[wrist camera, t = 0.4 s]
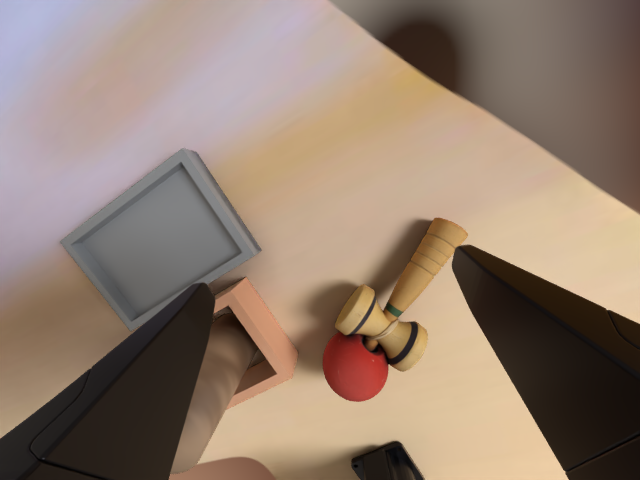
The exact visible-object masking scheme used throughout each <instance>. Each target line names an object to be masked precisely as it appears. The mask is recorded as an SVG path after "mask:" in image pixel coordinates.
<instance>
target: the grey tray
mask: <svg viewBox="0 0 640 480" xmlns="http://www.w3.org/2000/svg"><path fill="white" fill-rule="evenodd" d="M60 243H61V244H62V245H63V247H64V248H65V249H66V250H67V252H68V253H69V254H70V255H71V257H72V258H73V259H74V261H75V262H76V263H77V264H78V266H79V267H80V268H81V269H82V271H83V272H84V273H85V274H86V276H87V277H88V278H89V279H90V281H91V282H92V283H93V285H94V286H95V287H96V288H97V290H98V291H99V292H100V293H101V295H102V296H103V297H104V298H105V300H106V301H107V302H108V304H109V305H110V306H111V307H112V309H113V310H114V311H115V312H116V314H117V315H118V316H119V317H120V319H121V320H122V321H123V322H124V324H125V325H126V326H127V328H128V329H129V330H130V331H132V330H134V329H135V328H137V327H139V326H140V325H142V324H144V323H145V322H147V321H148V320H149V319H151V318H152V317H153V316H154V315H155V314H157V313H158V312H159V311H160V310H162V309H163V308H164V307H165V306H166V305H168V304H169V303H170V302H171V301H172V300H174V299H175V298H176V297H177V296H178V295H180V294H181V293H182V292H183V291H185V290H186V289H187V288H188V287H189V286H191V285H192V284H194V283H200V282H204V283H206V284H209V283H211V282H212V281H214V280H216V279H217V278H219V277H220V276H222V275H224V274H225V273H227V272H229V271H230V270H232V269H233V268H235V267H237V266H238V265H240V264H242V263H243V262H245V261H247V260H248V259H250V258H251V257H253V256H255V255H256V254H257V253H259V252H260V251H261V248H260V247H259V245H258V244H257V242H256V241H255V239H254V238H253V236H252V235H251V233H250V232H249V230H248V229H247V227H246V226H245V224H244V223H243V221H242V220H241V218H240V217H239V215H238V214H237V212H236V211H235V209H234V208H233V206H232V205H231V203H230V202H229V200H228V199H227V197H226V196H225V194H224V193H223V191H222V190H221V188H220V187H219V185H218V184H217V182H216V181H215V179H214V178H213V176H212V175H211V173H210V172H209V170H208V169H207V167H206V166H205V164H204V163H203V161H202V160H201V158H200V157H199V155H198V154H197V152H194V151H191V150H187V149H184V148H182V149H181V150H179V151H178V152H177V153H176V154H174V155H173V156H172V157H170V158H169V159H168V160H166V161H165V162H164V163H162V164H161V165H160V166H158V167H157V168H156V169H155V170H153V171H152V172H151V173H149V174H148V175H147V176H145V177H144V178H143V179H141V180H140V181H139V182H137V183H136V184H135V185H134V186H132V187H131V188H130V189H128V190H127V191H126V192H124V193H123V194H122V195H120V196H119V197H118V198H116V199H115V200H114V201H113V202H111V203H110V204H109V205H107V206H106V207H105V208H103V209H102V210H101V211H99V212H98V213H97V214H95V215H94V216H93V217H92V218H90V219H89V220H88V221H86V222H85V223H84V224H82V225H81V226H80V227H78V228H77V229H76V230H74V231H73V232H72V233H71V234H69V235H68V236H67V237H65V238H64V239H63V240H61V241H60Z"/></svg>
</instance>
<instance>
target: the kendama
mask: <svg viewBox="0 0 640 480" xmlns="http://www.w3.org/2000/svg"><path fill="white" fill-rule="evenodd" d="M467 236H468V233H467V232H466V231H465V230H464V229H463V228H462V227H460V226H458V225H457V224H455V223H453V222H451V221H448V220H445V219H442V218H434V220H433V221H432V223H431V225H430V227H429V229H428V231H427V232H426V235H425V236H424V238H423V239H422V241H421V243H420V245H419V246H418V248H417V250H416V252H415V253H414V255H413V256H412V258H411V260H410V261H411V262H409V263H408V265H407V266H406V268H405V269H404V271H403V273H402V275H401V277H400V278H399V280H398V282H397V284H396V286H395V288H394V290H393V292H392V294H391V296H390V298H389V300H388V302H387V304H386V307H385V308H384V311H382V309H381V308H380V306H379V304H378V302H377V300H376V297H375V292H374V290H373V289H371V288H370V287H368V286H366V285H365V284H362V285H360V286H359V287H358V288H357V289H356V291H355V292H354V293H353V294H352V295H351V297H350V298H349V299H348V301H347V302H346V304H345V305H344V307H343V309H342V310H341V312H340V314H339V316H338V318H337V320H336V323H335V328H336V329H338V330H339V331H340V332H338V333H337V334H335V335H334V336H333V337H332V338H331V340H330V341H329V342H328V344H327V346H326V348H325V351H324V355H323V371H324V375H325V378H326V380H327V382H328V384H329V385H330V387H331V388H332V389H333V391H334V392H335V393H337V394H338V395H339V396H341V397H342V398H344V399H346V400H349V401H356V402H360V401H365V400H368V399H371V398H372V397H374V396H375V395H377V394H378V393H379V392H380V391H381V389H382V388H383V386H384V384H385V382H386V379H387V376H388V364H390V365H391V366H392V367H394V368H396V369H397V370H399V371H402V372H404V371H407V370H409V369H410V368H412V367H413V366H414V365H415V364H416V363H417V362H418V361H419V359H420V358H421V356H422V355H423V353H424V350H425V348H426V345H427V340H428V338H427V337H428V335H427V331H426V329H425V328H423V327H422V326H421V325H420V324H419V323H417V322H414V321H413V322H400V321H398V317H399V316H400V315H401V314H402V313H403V312H404V311H405V310H406V309H407V308H408V307H409V306H410V305H411V303H412V302H413V301H414V300H415V299H416V298H417V297H418V296H419V295H420V294H421V293H422V291H423V290H424V289H425V288H426V287H427V285H428V284H429V283H430V282H431V280H432V279H433V278H434V275H436V274H437V273H438V272H439V270H440V269H441V267H442V266H443V265H444V264H445V263H446V262H447V260H448V258H450V257H451V255H452V254H453V253H454V251H455V248H456V247H457V246H460V245H461V244H462V242H463V241H464V240H465V239H466V238H467Z"/></svg>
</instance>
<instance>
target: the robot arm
mask: <svg viewBox="0 0 640 480" xmlns="http://www.w3.org/2000/svg"><path fill="white" fill-rule="evenodd" d="M452 269H453V272H454V274H455V277H456V279H457V281H458V284H459V286H460V288H461V290H462V293H463V295H464V297H465V299H466V302H467V304H468V306H469V308H470V310H471V312H472V314H473V316H474V317H475V319H476V321H477V323H478V324H479V326H480V328H481V329H482V331H483V333H484V335H485V336H486V338H487V340H488V341H489V343H490V345H491V347H492V348H493V350H494V352H495V353H496V355H497V357H498V359H499V360H500V362H501V364H502V365H503V367H504V369H505V371H506V372H507V374H508V376H509V377H510V379H511V381H512V383H513V384H514V386H515V388H516V389H517V391H518V393H519V395H520V396H521V398H522V400H523V401H524V403H525V405H526V407H527V408H528V410H529V412H530V413H531V415H532V417H533V419H534V420H535V422H536V424H537V425H538V427H539V429H540V430H541V432H542V434H543V436H544V437H545V439H546V441H547V442H548V444H549V446H550V448H551V449H552V451H553V453H554V454H555V456H556V458H557V460H558V461H559V463H560V465H561V466H562V468H563V470H564V471H565V474H566V475H567V477H568V479H569V480H640V324H639V323H636V322H634V321H632V320H630V319H628V318H626V317H623V316H621V315H619V314H617V313H615V312H613V311H611V310H606V308H604V307H602V306H600V305H598V304H596V303H594V302H591V301H589V300H587V299H585V298H583V297H581V296H579V295H576V294H574V293H572V292H570V291H568V290H566V289H564V288H562V287H559V286H557V285H555V284H553V283H551V282H549V281H547V280H545V279H542V278H540V277H538V276H536V275H534V274H532V273H530V272H527V271H525V270H523V269H521V268H519V267H517V266H515V265H513V264H510V263H508V262H506V261H504V260H502V259H500V258H498V257H496V256H493V255H491V254H489V253H487V252H485V251H483V250H481V249H479V248H476V247H474V246H472V245H461V246H457V247H456V248H455V251H454V256H453V261H452ZM215 302H216V300H215V296H214V294H213V293H212V291H211V290H210V288H209V287H208V285H207V284H206V283H204V282H200V283H194V284H192V285H191V286H189V287H188V288H187V289H186V290H185V291H183V292H182V293H181V294H180V295H178V296H177V297H176V298H175V299H174V300H172V301H171V302H170V303H169V304H168V305H166V306H165V307H164V308H163V309H162V310H160V311H159V312H158V313H157V314H155V315H154V316H153V317H152V318H151V319H149V320H148V321H147V322H146V323H145V324H143V325H142V326H141V327H140V328H138V329H137V330H136V331H135V332H134V333H132V334H131V335H130V336H129V337H128V338H126V339H125V340H124V341H123V342H121V343H120V344H119V345H118V346H117V347H115V348H114V349H113V350H112V351H111V352H109V353H108V354H107V355H106V356H105V357H103V358H102V359H101V360H100V361H98V362H97V363H96V364H95V365H94V366H92V368H91V369H89V370H87V371H86V372H85V373H84V374H83V375H81V376H80V377H79V378H78V379H77V380H75V381H74V382H73V383H72V384H70V385H69V386H68V387H67V388H65V389H64V390H63V391H62V392H60V393H59V394H58V395H57V396H55V397H54V398H53V399H52V400H50V401H49V402H48V403H46V404H45V405H44V406H43V407H41V408H40V409H39V410H37V411H36V412H35V413H34V414H32V415H31V416H30V417H28V418H27V419H26V420H24V421H23V422H22V423H20V424H19V425H18V426H16V427H15V428H14V429H13V430H11V431H10V432H9V433H7V434H6V435H5V436H3V437H2V438H1V439H0V480H168V479H169V476H170V472H171V469H172V466H173V462H174V459H175V455H176V452H177V448H178V445H179V441H180V438H181V434H182V431H183V428H184V424H185V421H186V417H187V414H188V410H189V407H190V403H191V400H192V396H193V393H194V390H195V386H196V383H197V379H198V376H199V372H200V369H201V365H202V362H203V358H204V355H205V352H206V348H207V344H208V340H209V336H210V330H211V325H212V319H213V314H214V308H215ZM351 466H352V468H353V470H354V471H355V473H356V474H357V475H358V477H359V478H360V480H425V478H424V477H423V475H422V474H421V472H420V471H419V469H418V468H417V466H416V465H415V463H414V462H413V460H412V458H411V457H410V455H409V454H408V452H407V451H406V449H405V448H404V446H403V445H402V444H401V443H400V442H396V443H393V444H391V445H388V446H386V447H383V448H381V449H378V450H375V451H373V452H370V453H368V454H365V455H363V456H360V457H357V458H355V459H353V460H352V461H351Z"/></svg>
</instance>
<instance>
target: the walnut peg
mask: <svg viewBox="0 0 640 480" xmlns="http://www.w3.org/2000/svg"><path fill="white" fill-rule="evenodd" d="M257 349H258V346H257V345H256V343H255V342H254V340H253V339H252V338H251V336H250V335H249V333H248V332H247V330H246V329H245V328H244V326H243V325H242V323H241V322H240V321H239V319H238V318H237V316H236V315H235V314H234V313H228V314H225V315H222V316H221V317H219V318H218V319H217V320H216V321H215V322H214V323H213V324H212V325H211V330H210V336H209V340H208V344H207V348H206V352H205V355H204V358H203V362H202V365H201V369H200V372H199V376H198V379H197V383H196V386H195V390H194V393H193V396H192V400H191V403H190V407H189V410H188V414H187V417H186V421H185V424H184V428H183V431H182V434H181V438H180V441H179V445H178V448H177V452H176V455H175V459H174V462H173V466H172V469H171V472H170V474H178V473H183V472H185V471H188V470H189V469H191V468H193V467H194V466H195V465H196V464H197V463H198V461H199V460H200V458H201V456H202V454H203V452H204V450H205V448H206V446H207V444H208V442H209V441H210V439H211V437H212V435H213V433H214V431H215V429H216V427H217V425H218V423H219V421H220V420H221V418H222V416H223V414H224V412H225V410H226V408H227V406H228V404H229V402H230V401H231V399H232V397H233V395H234V393H235V391H236V389H237V387H238V385H239V383H240V381H241V380H242V378H243V376H244V374H245V372H246V370H247V368H248V366H249V364H250V362H251V361H252V359H253V357H254V355H255V353H256V351H257Z"/></svg>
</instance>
